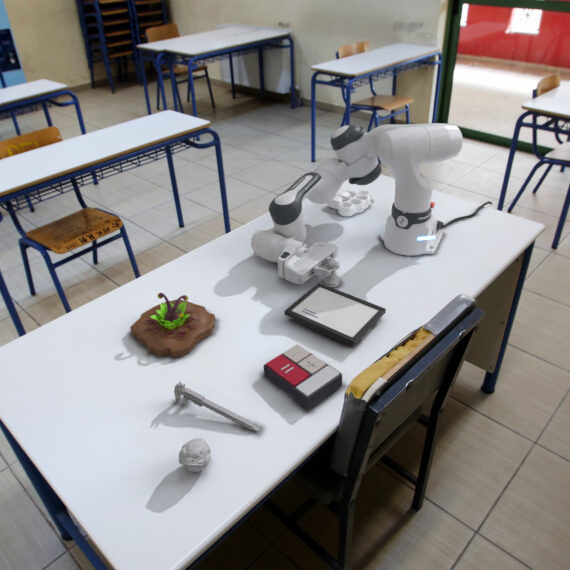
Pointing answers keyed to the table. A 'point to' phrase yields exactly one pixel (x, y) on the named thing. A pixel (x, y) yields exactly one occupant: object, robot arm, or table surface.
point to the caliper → (210, 406)
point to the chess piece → (332, 279)
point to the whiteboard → (335, 313)
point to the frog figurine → (195, 455)
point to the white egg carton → (351, 202)
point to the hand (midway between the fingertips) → (334, 269)
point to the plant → (173, 327)
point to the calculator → (303, 376)
